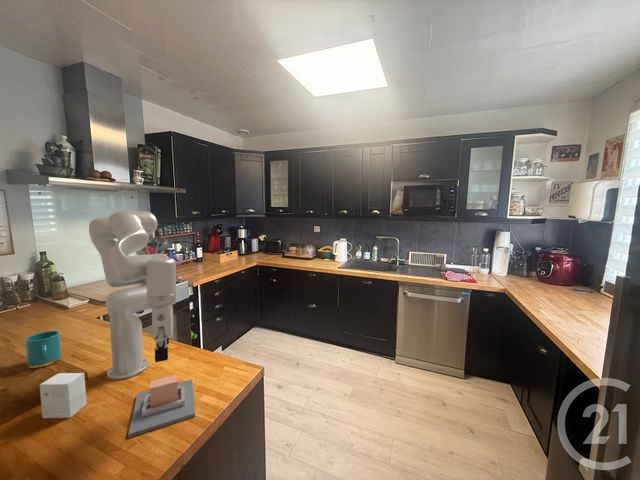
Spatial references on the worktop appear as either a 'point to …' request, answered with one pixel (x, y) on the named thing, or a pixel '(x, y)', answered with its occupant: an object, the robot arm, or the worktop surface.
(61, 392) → the small box
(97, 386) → the worktop surface
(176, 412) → the nest board
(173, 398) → the key block
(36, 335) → the cup
